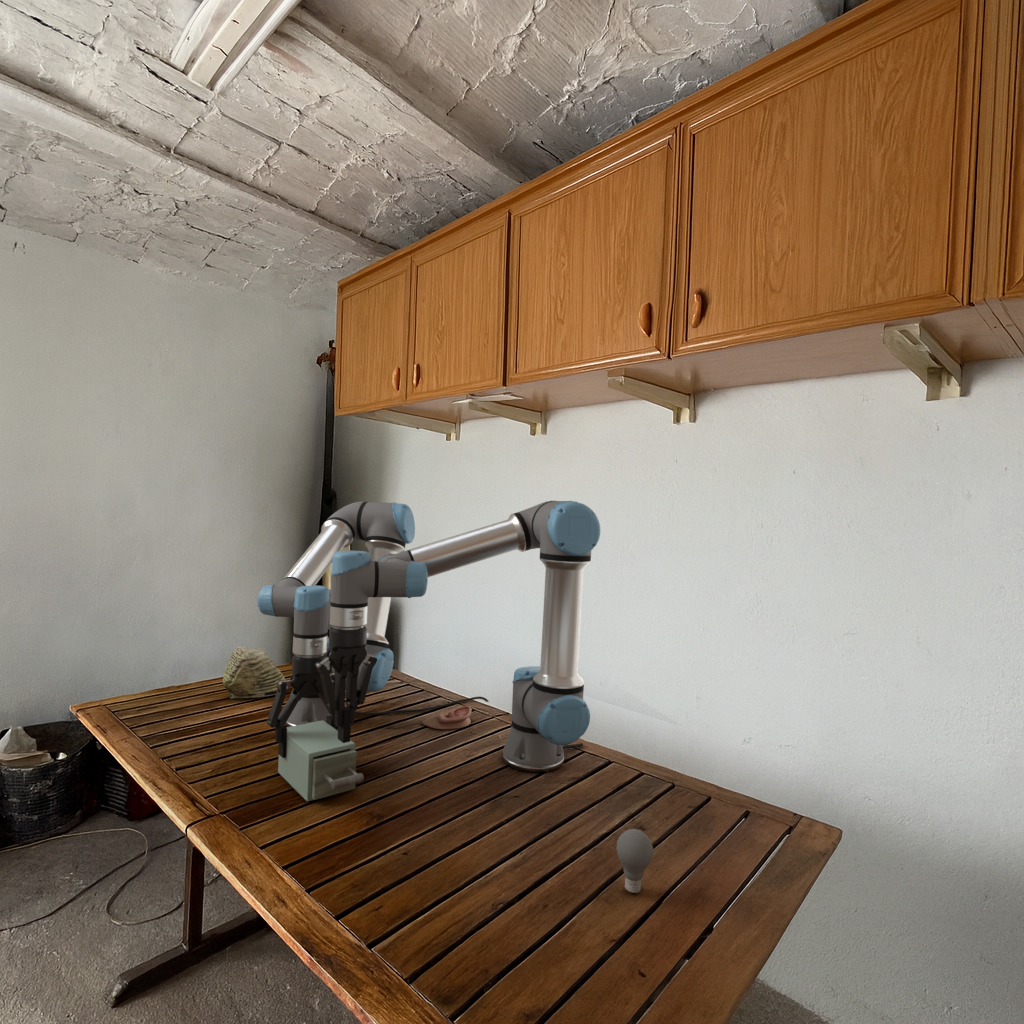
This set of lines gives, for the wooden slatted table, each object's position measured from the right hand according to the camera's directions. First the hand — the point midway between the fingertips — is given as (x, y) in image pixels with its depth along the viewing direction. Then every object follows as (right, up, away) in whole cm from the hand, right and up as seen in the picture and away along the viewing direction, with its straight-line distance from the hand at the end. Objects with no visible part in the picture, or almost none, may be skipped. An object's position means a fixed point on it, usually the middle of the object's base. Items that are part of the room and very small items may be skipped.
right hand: (343, 740), depth 130 cm
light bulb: (+55, -16, -25) cm, 62 cm away
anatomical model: (+16, -13, +50) cm, 54 cm away
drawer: (-6, -12, +6) cm, 15 cm away
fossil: (-46, -10, +68) cm, 82 cm away
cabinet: (-9, -13, +11) cm, 19 cm away
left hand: (-13, -8, +15) cm, 21 cm away
